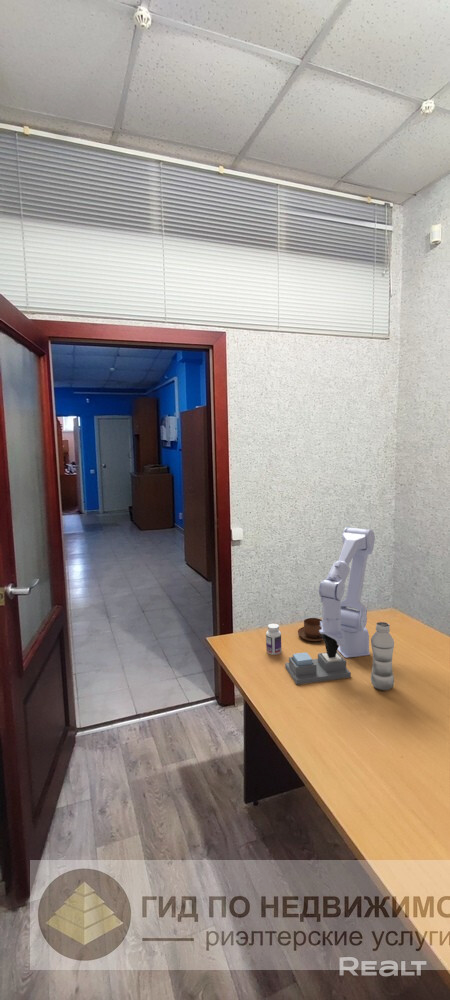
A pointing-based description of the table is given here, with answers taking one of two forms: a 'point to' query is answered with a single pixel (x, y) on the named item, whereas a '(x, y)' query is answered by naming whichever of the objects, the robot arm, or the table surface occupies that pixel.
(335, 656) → the white key
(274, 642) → the pill bottle
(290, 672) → the key panel
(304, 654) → the blue key
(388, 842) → the table surface
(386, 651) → the plastic bottle
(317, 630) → the cup and saucer
